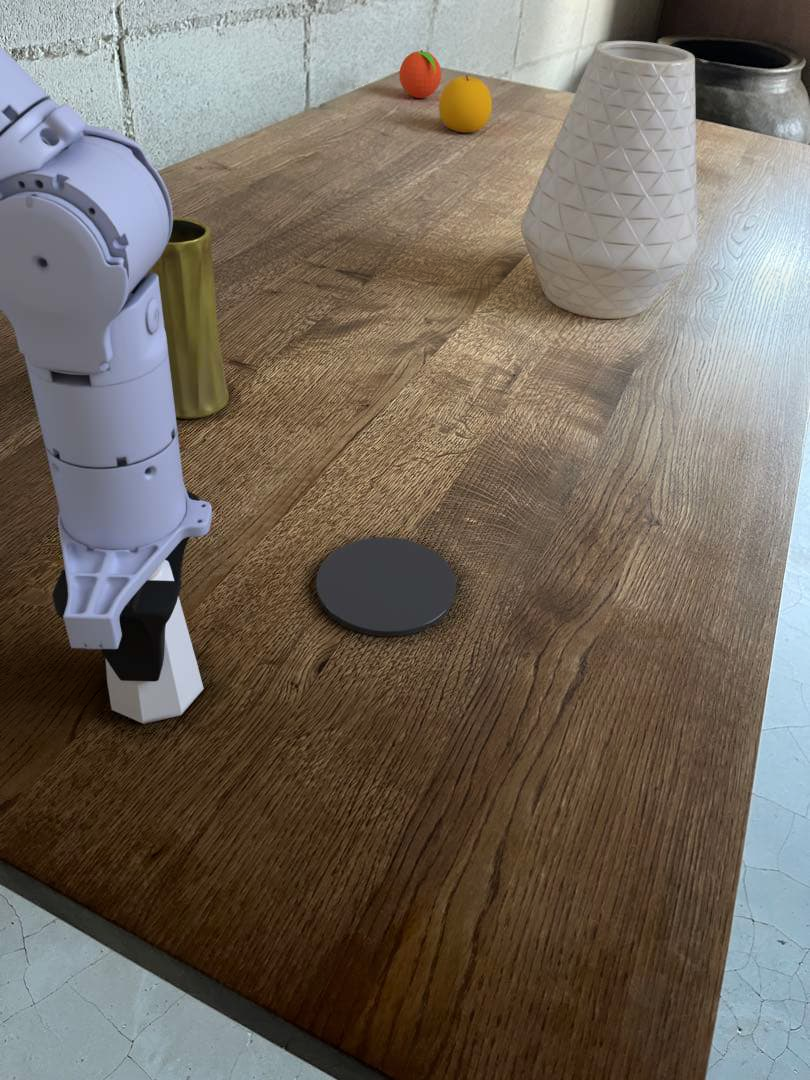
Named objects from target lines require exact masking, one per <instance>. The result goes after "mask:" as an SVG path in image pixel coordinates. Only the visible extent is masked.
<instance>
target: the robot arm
mask: <svg viewBox="0 0 810 1080" xmlns="http://www.w3.org/2000/svg"><path fill="white" fill-rule="evenodd" d="M173 217H174V212H173V204H172V200H171V197H170V194H169V190H168V188H167V186H166V183H165V182H164V180H163V178H162V176H161V175H160V173H159V172H158V171H157V169H156V168H155V167H154V165H153V164H152V163H151V162H150V160H149V159H148V157H147V154H146V153H145V151H144V149H143V148H142V147H141V145H140V144H139V143H137V142H135V141H134V140H133V139H131V138H130V137H128V136H126V135H125V134H122V133H120V132H118V131H115V130H112V129H111V128H110V129H109V128H106V127H101V126H96V125H90V124H86V121H85V120H84V119H83V118H82V117H81V116H80V115H79V114H78V113H77V112H76V111H75V110H74V109H73V108H72V107H71V105H70V104H69V103H63V104H61V105H59V104H58V103H57V102H56V101H55V100H54V99H53V98H51V96H50V94H48V93H47V92H46V91H45V90H44V88H42V87H41V85H39V84H38V82H37V81H35V79H33V77H32V76H31V75H30V74H29V73H28V72H27V71H26V69H24V68H23V67H22V66H21V65H20V64H19V63H18V62H17V60H15V59H14V58H13V56H11V54H9V53H8V52H7V51H6V49H4V48H3V47H2V45H0V311H1V312H2V313H3V314H4V315H5V316H6V318H7V319H8V321H9V322H10V324H11V326H12V327H13V331H14V334H15V338H16V342H17V346H18V351H19V353H20V354H21V355H23V356H24V360H25V366H26V370H27V374H28V378H29V383H30V387H31V392H32V396H33V400H34V404H35V408H36V414H37V417H38V422H39V425H40V431H41V435H42V439H43V443H44V447H45V452H46V456H47V461H48V466H49V471H50V475H51V479H52V484H53V488H54V492H55V496H56V501H57V506H58V510H59V511H58V515H57V526H58V533H59V539H60V545H61V553H62V559H63V565H64V569H62V570H61V571H60V574H59V576H58V578H57V581H56V582H55V583H56V584H55V585H54V588H53V591H52V596H51V597H52V601H53V605H54V609H55V611H56V614H57V615H58V617H60V618H62V619H63V622H64V625H65V630H66V633H67V637H68V641H69V645H70V648H71V649H86V650H99V651H100V652H101V653H102V655H103V657H104V658H106V659H105V661H106V660H107V661H108V663H109V664H110V666H111V667H112V669H113V670H114V672H115V673H116V675H117V676H118V678H119V679H120V680H121V681H154V682H156V681H158V680H159V677H160V674H161V670H162V666H163V660H164V650H165V627H166V623H167V622H168V620H169V619H170V617H171V615H172V612H173V610H174V608H175V605H176V603H177V599H178V596H179V597H180V591H181V587H182V583H183V582H182V571H183V563H184V556H185V552H186V551H185V550H186V548H187V545H188V542H189V539H190V538H201V537H204V536H206V535H208V533H209V532H210V528H211V525H212V521H213V507H212V504H211V503H210V502H209V501H207V500H200V497H199V496H198V495H197V494H196V493H193V492H190V491H187V489H186V486H185V483H184V476H183V475H184V474H183V467H182V459H181V450H180V441H179V433H178V424H177V418H176V414H175V406H174V397H173V389H172V381H171V372H170V364H169V356H168V346H167V337H166V332H165V328H164V320H163V312H162V303H161V295H160V287H159V278H158V275H157V274H155V273H150V274H148V275H146V274H147V272H148V271H149V270H150V269H151V268H152V267H153V265H154V264H155V263H156V262H157V261H158V259H159V258H160V256H161V255H162V253H163V251H164V249H165V247H166V245H167V243H168V241H169V238H170V236H171V232H172V226H173ZM164 560H167V561H168V562H169V565H170V568H171V571H172V574H173V578H174V581H160V580H148V579H149V577H150V576H151V575H152V574H153V573H154V572H155V570H156V569H157V568H158V567H159V566H160V565H161V564H162V562H163V561H164Z"/></svg>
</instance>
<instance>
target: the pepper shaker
mask: <svg viewBox="0 0 810 1080" xmlns="http://www.w3.org/2000/svg"><path fill="white" fill-rule="evenodd" d="M148 580H160V581H174V578H173V574H172V571H171V568H170V565H169V562H168V561H167V560H164V561H163V562H162V564H161V565H160V566H159V567H158V568H157V569H156V570H155V572H154V573H153V574H152V575H151V576H150V577H149V579H148ZM104 658H105V657H104ZM105 671H106V673H105V674H106V683H107V690H108V697H109V702H110V708H111V709H110V710H111V711H114V712H116V713H118V714H120V715H123V716H124V717H128V719H132V720H134V721H136V722H138V723H141V724H143V725H145V724H149V723H155V722H159V721H162V720H167V719H171V718H175V717H179V716H182V715H184V713H185V711H186V710H187V709H188V708H189V706H191V704H192V703H193V702H194V701H195V700H196V699H197V697H198V696H199V695H200V694H201V693H202V691H203V690H204V685H203V681H202V678H201V677H202V676H201V673H200V669H199V666H198V661H197V658H196V653H195V651H194V648H193V644H192V640H191V636H190V633H189V629H188V625H187V622H186V618H185V614H184V611H183V607H182V603H181V600H180V595H179V596H178V599H177V603H176V605H175V608H174V610H173V612H172V615H171V617H170V619H169V620H168V622H167V623H166V627H165V650H164V660H163V666H162V670H161V674H160V677H159V680H158V681H156V682H154V681H121V680H120V679H119V678H118V676H117V675H116V673H115V672H114V670H113V669H112V667H111V666H110V664H109V663H108V661H107V660H106V658H105Z"/></svg>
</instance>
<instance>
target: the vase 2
mask: <svg viewBox="0 0 810 1080" xmlns="http://www.w3.org/2000/svg"><path fill="white" fill-rule="evenodd" d="M696 108H697V106H696V58H695V55H694V54H693V53H692V52H689V50H685V49H682V48H680V47H676V46H671V45H667V44H664V43H663V44H662V43H656V42H649V41H639V40H609V41H603V42H600V43H598V44H596V45H595V46H594V49H593V51H592V54H591V56H590V58H589V61H588V63H587V65H586V68H585V70H584V73H583V75H582V77H581V79H580V82H579V84H578V86H577V89H576V91H575V94H574V96H573V98H572V100H571V103H570V105H569V107H568V110H567V112H566V114H565V118H563V119H564V120H563V122H562V124H561V126H560V128H559V131H558V133H557V136H556V138H555V140H554V143H553V146H552V148H551V150H550V152H549V155H548V157H547V159H546V162H545V164H544V167H543V168H542V171H541V174H540V176H539V178H538V181H537V183H536V185H535V187H534V190H533V192H532V194H531V197H530V199H529V202H528V204H527V207H526V209H525V210H524V213H523V216H522V218H521V222H520V229H521V230H520V231H521V236H522V238H523V240H524V243H525V246H526V249H527V251H528V254H529V257H530V259H531V263H532V265H533V268H534V271H535V273H536V275H537V278H538V281H539V283H540V286H541V289H542V292H543V294H544V296H545V298H546V299H547V300H548V301H549V302H550V303H552V304H553V305H555V306H556V307H558V308H560V309H561V310H564V311H566V312H569V313H572V314H574V315H577V316H582V317H586V318H590V319H591V318H592V319H601V320H621V319H627V318H628V319H629V318H633V317H634V316H637V315H640V314H642V313H644V311H646V310H647V309H648V308H649V307H650V306H651V304H652V303H654V301H655V300H656V299H657V298H658V297H659V296H660V295H661V294H662V292H664V290H665V289H667V288H668V286H669V285H670V284H671V283H672V281H674V279H676V277H677V276H678V275H679V274H680V273H681V272H682V271H683V269H684V268H685V267H686V266H687V265H688V264H689V263H690V262H691V261H692V259H693V258H694V257H695V255H696V252H697V250H698V245H699V243H698V242H699V241H698V240H699V237H698V236H699V235H698V232H699V231H698V230H699V229H698V176H697V175H698V172H697V171H698V169H697V116H696V115H697V114H696V111H697V110H696Z"/></svg>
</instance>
